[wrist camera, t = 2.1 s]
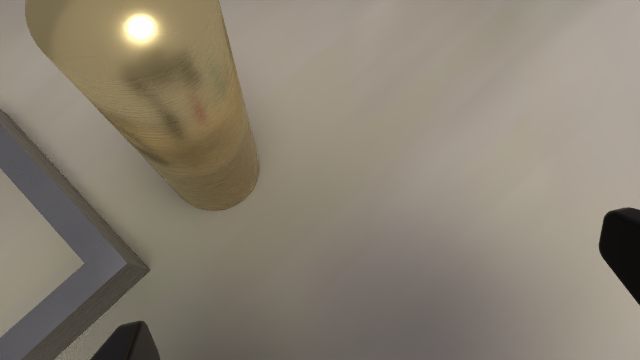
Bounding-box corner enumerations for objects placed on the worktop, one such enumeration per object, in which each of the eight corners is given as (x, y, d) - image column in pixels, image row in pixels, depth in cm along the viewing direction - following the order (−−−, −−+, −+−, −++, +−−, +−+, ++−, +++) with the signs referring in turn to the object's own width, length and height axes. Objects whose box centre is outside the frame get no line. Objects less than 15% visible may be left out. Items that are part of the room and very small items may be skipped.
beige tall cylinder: (212, 228, 22) (105, 116, 10) (153, 168, 23) (-14, -7, 11) (277, 168, 23) (253, -1, 11) (219, 112, 24) (134, -106, 12)
